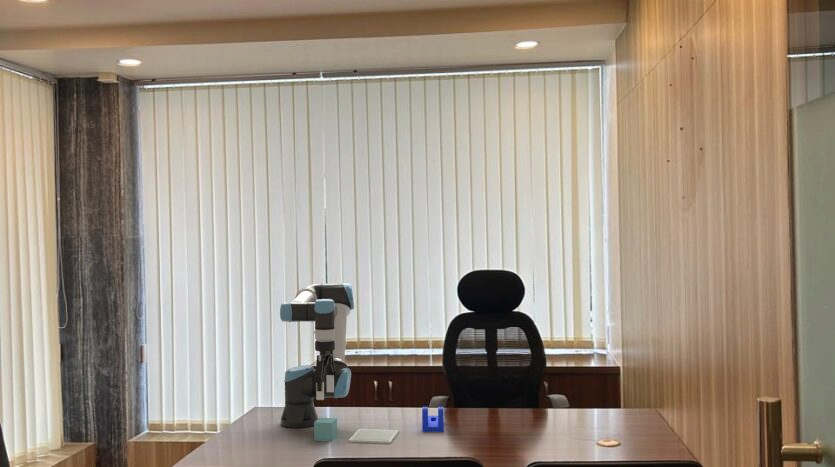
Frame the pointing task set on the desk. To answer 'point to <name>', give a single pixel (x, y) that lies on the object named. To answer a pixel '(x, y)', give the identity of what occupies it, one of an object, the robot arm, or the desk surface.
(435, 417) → the bracket
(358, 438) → the white square tray
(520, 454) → the desk surface
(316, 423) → the cube
